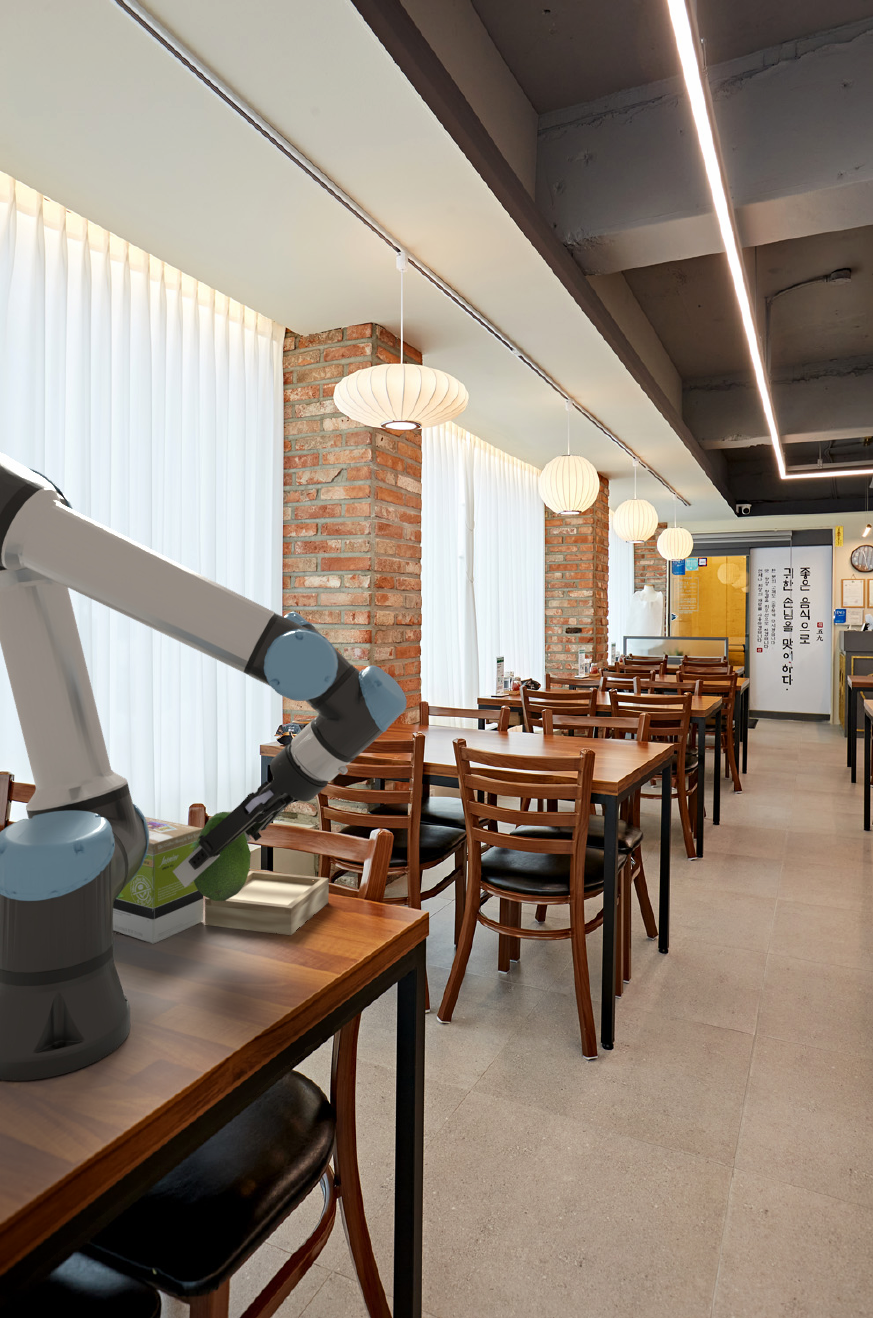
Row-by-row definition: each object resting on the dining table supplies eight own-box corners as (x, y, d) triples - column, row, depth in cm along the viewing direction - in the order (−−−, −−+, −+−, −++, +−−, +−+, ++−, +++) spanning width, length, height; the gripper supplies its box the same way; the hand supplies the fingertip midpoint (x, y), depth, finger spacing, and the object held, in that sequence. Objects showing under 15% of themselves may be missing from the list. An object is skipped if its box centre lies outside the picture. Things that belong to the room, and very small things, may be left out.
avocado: (258, 891, 107) (260, 807, 107) (235, 911, 100) (237, 820, 99) (204, 886, 108) (206, 803, 108) (178, 906, 101) (180, 816, 100)
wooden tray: (291, 935, 110) (291, 907, 110) (205, 924, 114) (205, 898, 114) (328, 902, 124) (328, 878, 124) (250, 893, 127) (250, 870, 127)
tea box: (81, 925, 113) (81, 826, 113) (136, 904, 122) (136, 813, 122) (153, 945, 106) (153, 841, 106) (206, 922, 115) (206, 825, 115)
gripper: (294, 799, 90) (170, 916, 94) (355, 770, 110) (250, 869, 114) (255, 751, 91) (134, 869, 95) (322, 731, 111) (220, 830, 115)
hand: (198, 869), depth 105 cm, fingers closed on avocado, 8 cm apart
